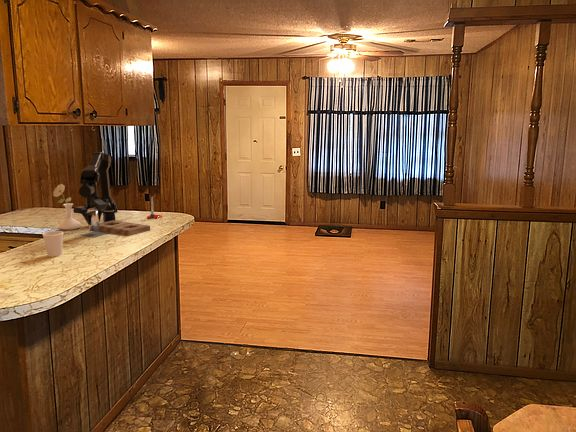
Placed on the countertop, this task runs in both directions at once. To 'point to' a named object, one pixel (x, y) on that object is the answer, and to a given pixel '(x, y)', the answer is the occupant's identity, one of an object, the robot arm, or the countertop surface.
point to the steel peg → (94, 221)
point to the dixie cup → (53, 242)
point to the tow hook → (153, 211)
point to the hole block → (123, 227)
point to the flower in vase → (69, 221)
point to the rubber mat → (94, 234)
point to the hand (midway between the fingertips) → (93, 224)
